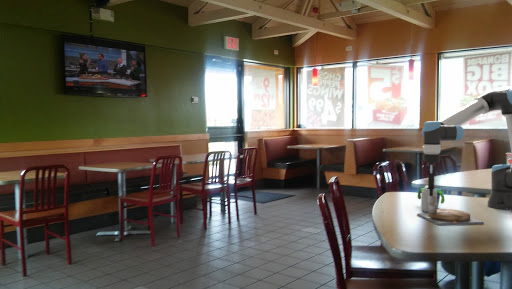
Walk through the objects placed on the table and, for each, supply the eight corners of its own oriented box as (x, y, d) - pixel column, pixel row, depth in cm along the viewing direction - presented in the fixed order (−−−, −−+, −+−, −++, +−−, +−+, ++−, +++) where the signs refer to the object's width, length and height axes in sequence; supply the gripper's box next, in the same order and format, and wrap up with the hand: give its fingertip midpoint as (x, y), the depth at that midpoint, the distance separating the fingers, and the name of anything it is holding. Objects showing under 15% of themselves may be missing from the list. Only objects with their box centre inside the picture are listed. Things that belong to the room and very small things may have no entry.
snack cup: (449, 209, 223) (449, 190, 223) (434, 210, 219) (434, 191, 219) (427, 204, 238) (427, 186, 237) (412, 205, 234) (412, 187, 233)
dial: (456, 212, 209) (456, 192, 208) (478, 220, 191) (478, 198, 190) (419, 213, 207) (420, 193, 207) (438, 221, 189) (439, 199, 189)
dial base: (457, 214, 210) (457, 211, 210) (483, 224, 190) (483, 221, 189) (417, 215, 209) (417, 212, 209) (439, 225, 188) (439, 222, 188)
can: (438, 213, 214) (438, 189, 213) (422, 212, 215) (422, 189, 215) (435, 210, 221) (435, 187, 220) (420, 209, 222) (420, 187, 222)
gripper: (423, 152, 209) (423, 199, 210) (422, 154, 197) (421, 204, 198) (440, 152, 205) (439, 200, 207) (440, 154, 194) (439, 205, 195)
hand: (431, 202), depth 202 cm, fingers closed
